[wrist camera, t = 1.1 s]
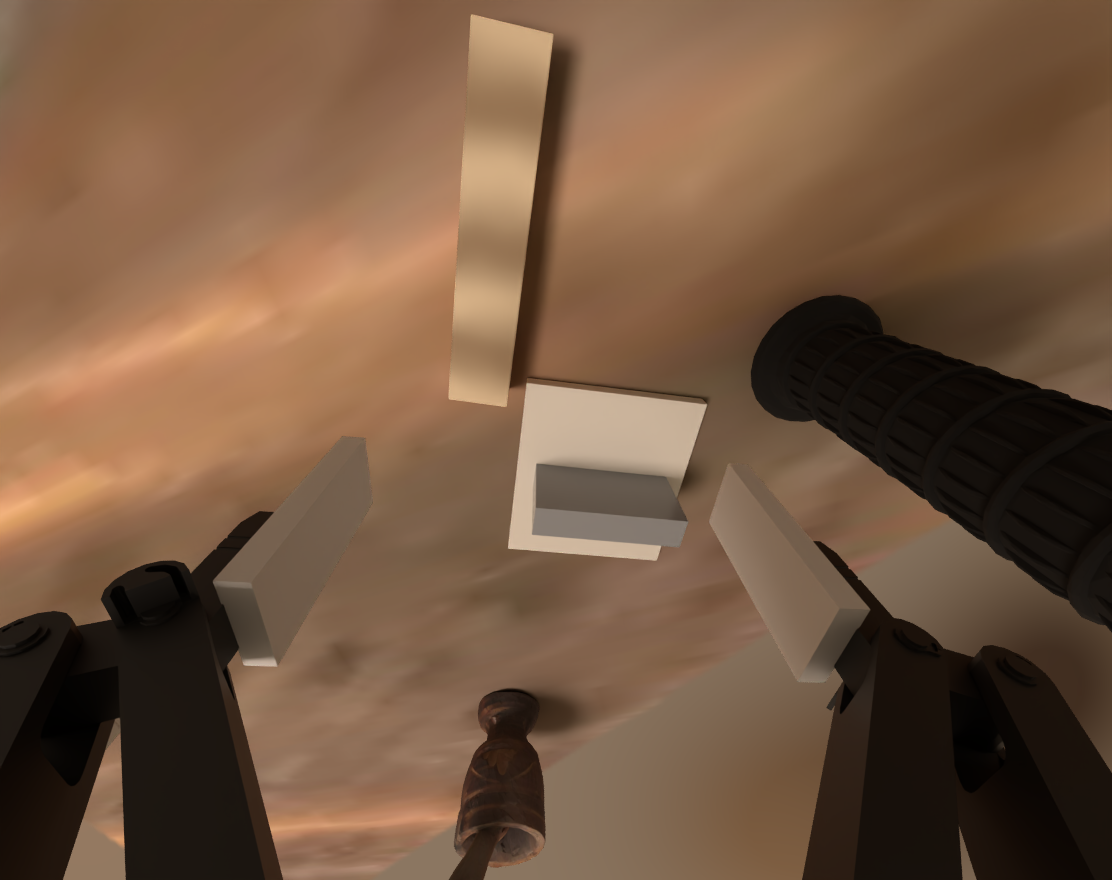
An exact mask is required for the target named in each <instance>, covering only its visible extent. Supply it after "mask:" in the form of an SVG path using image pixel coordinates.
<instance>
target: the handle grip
mask: <svg viewBox="0 0 1112 880" xmlns="http://www.w3.org/2000/svg"><path fill="white" fill-rule="evenodd" d="M751 381H752V388H753V391H754V394H755V397H756V399H757V401H758V402H759V403H760V404H761V406H762V407H763V408H764V409H765V410H766V411H768V412H769V413H770V414H772V415H773V416H775V417H777V418H780V419H784V420H788V421H801V422H805V421H811V420H816V421H817V422H818V423H819V424H820V425H822V426H823V427H824V428H826V429H829V430H830V431H832V432H833V433H835V434H836V435H837V436H838V437H839V438H840V439H842V440H843V441H844V442H846V443H847V444H848V445H850V446H851V447H852V448H854V449H855V450H857V451H859V452H860V453H862V454H863V455H865V456H866V457H868V458H869V460H870V461H872V462H873V463H874V464H876V465H877V466H879V467H881V468H882V469H883V470H884V471H885V472H886V473H887V474H888V475H890V476H892V477H894V478H896V479H898V480H899V481H900V482H901V483H903V484H904V485H906V486H907V487H909V489H911V490H912V491H913V492H914V493H916V494H917V495H918V496H920V497H921V498H923V499H926V500H927V501H928V502H929V503H930V504H931V505H932V506H933V508H934V509H935V510H937V511H939V512H942V513H944V514H947V515H948V516H949V517H950V518H951V519H953V520H954V521H955V522H957V523H958V524H960V525H961V526H962V527H963V528H964V529H965V530H967V531H968V532H969V533H971V534H972V535H973V536H975V537H976V538H977V539H980V540H982V541H984V542H987V543H988V545H989V546H990V547H991V548H992V549H993V550H994V552H995V553H996V554H998V555H1000V556H1002V557H1003V558H1005V559H1007V560H1010V561H1013V562H1014V563H1015V564H1016V565H1017V566H1018V567H1019V568H1020V569H1022V570H1023V571H1024V572H1026V573H1027V574H1029V575H1030V576H1031V577H1032V578H1033V579H1034V580H1035V581H1037V582H1038V583H1040V584H1041V585H1042V586H1044V587H1045V588H1046V589H1048V590H1049V591H1050V592H1052V593H1053V594H1055V595H1057V596H1060V597H1062V598H1064V599H1067V600H1069V601H1070V604H1071V605H1072V606H1073V608H1074V609H1075V610H1076V611H1077V612H1078V614H1079V615H1080V616H1081V617H1083V618H1085V619H1087V620H1090V621H1092V622H1095V623H1097V624H1100V625H1106V626H1107V627H1108V628H1109V630H1110V631H1111V632H1112V410H1109V409H1107V408H1104V407H1101V406H1098V405H1091V404H1088V403H1085V402H1082V401H1079V400H1076V399H1072V398H1071V397H1070V396H1069V395H1068V394H1065V393H1062V392H1059V391H1056V390H1050V389H1041V388H1040V387H1038V386H1037V385H1035V384H1032V383H1029V382H1026V381H1023V380H1020V379H1014V378H1011V377H1008V376H1005V375H1002V374H1000V373H999V372H997V371H994V370H992V369H990V368H987V367H982V366H975V365H974V364H971V363H969V362H966V361H963V360H960V359H954V358H951V357H948V356H945V355H943V354H942V353H940V352H938V351H934V350H931V349H927V348H924V347H921V346H919V345H915V344H909V343H907V342H904V341H901V340H900V339H898V338H896V337H895V336H890V335H884V334H883V329H882V326H881V322H880V319H879V317H878V316H877V315H876V314H875V313H874V311H873V310H872V309H871V308H870V307H869V306H868V305H866V304H865V303H863V302H861V301H859V300H857V299H856V298H851V297H846V296H841V295H836V296H822V297H819V298H816V299H813V300H810V301H807V302H804V303H803V304H801V305H799V306H797V307H796V308H794V309H792V310H790V311H789V312H787V313H786V314H785V315H784V316H783V317H782V318H781V319H779V320H778V321H777V322H776V323H775V324H774V325H773V326H772V327H771V329H770V330H769V331H768V333H767V334H766V335H765V337H764V338H763V339H762V341H761V343H760V345H759V347H758V350H757V352H756V354H755V356H754V360H753V365H752V370H751Z"/></svg>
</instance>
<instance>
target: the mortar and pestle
mask: <svg viewBox="0 0 1112 880" xmlns="http://www.w3.org/2000/svg"><path fill="white" fill-rule="evenodd" d="M538 712H539V705H538V703H537V701H536V700H534V699H533V698H532V697H530V696H529V695H527V694H524V693H518V692H495V693H492V694H490V695H488V696H486V697H484V698H483V699H482V700H481V702H480V704H479V710H478V719H479V723H480V726H481V729H482V730H483V731H484V732H486V733H487V734H488V737H487V741H485V742H484V743H483V744H482V745H481V746H480V747H479V748H478V749H477V750H476V752H475V753H474V755H473V758H472V761H471V764H470V766H469V769H468V771H467V775H466V778H465V781H464V785H463V790H462V798H461V809H460V811H459V815H458V820H457V826H456V833H455V840H454V847H455V850H456V852H457V853H458V854H459V856H461V857H462V858H463V859H462V860H461V862H460V863H459V864H458V866H457V867H456V869H455V870H454V872H453V874H452V875H451V877H450V879H449V880H483V879H484V876H485V873H486V870H487V867H488V866H490V867H502V866H510V865H516V864H520V863H522V862H526V861H528V860H530V859H531V858H532V857H535V856H537V855H538V854H539V852H540V851H541V850H542V849H543V848H544V844H545V812H544V784H543V776H542V771H541V766H540V762H539V758H538V754H537V752H536V751H535V749H534V748H533V746H532V745H531V744H530V743H529V742H528V740H527V738H526V736H527V735H528V733H530V732H531V731H532V729H533V727H534V725H535V723H536V720H537V717H538Z"/></svg>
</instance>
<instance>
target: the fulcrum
mask: <svg viewBox="0 0 1112 880" xmlns="http://www.w3.org/2000/svg"><path fill="white" fill-rule="evenodd" d="M706 407H707V404H706V403H705V402H704V400H703V399H700V398H692V397H683V396H675V395H667V394H658V393H650V392H642V391H634V390H625V389H617V388H609V387H600V386H592V385H584V384H575V383H567V382H559V381H550V380H542V379H534V378H527V384H526V393H525V401H524V410H523V419H522V428H521V437H520V445H519V454H518V463H517V472H516V481H515V489H514V498H513V507H512V516H511V525H510V533H509V543H508V548H509V549H521V550H534V551H546V552H558V553H570V554H583V555H595V556H607V557H619V558H632V559H644V560H656V561H657V558H658V555H659V552H660V548H661V546H669V547H680V544H681V541H682V538H683V535H684V533H685V530H686V527H687V524H688V520H687V518H686V516H685V514H684V512H683V510H682V508H681V506H680V504H679V502H678V500H677V496H678V493H679V490H680V487H681V484H682V481H683V478H684V474H685V471H686V468H687V465H688V462H689V459H690V456H691V453H692V450H693V447H694V444H695V441H696V437H697V434H698V431H699V428H700V425H701V422H702V419H703V416H704V413H705V410H706Z"/></svg>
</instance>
